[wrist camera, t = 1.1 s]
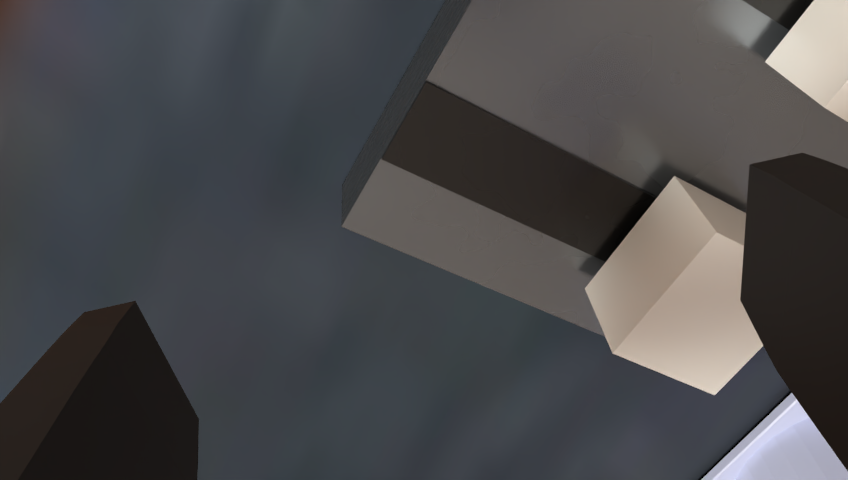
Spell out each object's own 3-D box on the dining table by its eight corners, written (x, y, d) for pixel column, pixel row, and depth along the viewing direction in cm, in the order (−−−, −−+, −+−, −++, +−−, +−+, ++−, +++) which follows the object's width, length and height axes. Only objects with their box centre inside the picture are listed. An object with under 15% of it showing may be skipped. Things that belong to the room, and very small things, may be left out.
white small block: (770, 226, 18) (822, 285, 16) (677, 329, 20) (714, 395, 18) (674, 175, 17) (716, 232, 15) (584, 288, 19) (612, 353, 17)
